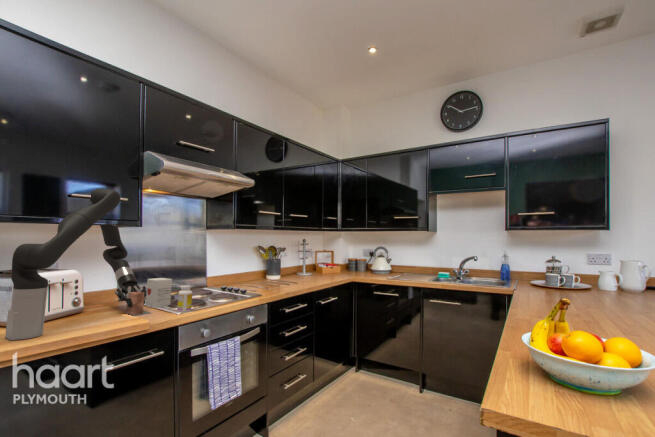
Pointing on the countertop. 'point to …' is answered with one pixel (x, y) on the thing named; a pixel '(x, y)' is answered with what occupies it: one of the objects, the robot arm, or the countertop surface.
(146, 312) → the slate card
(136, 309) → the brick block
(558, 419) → the countertop surface
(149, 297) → the supplement box
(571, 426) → the countertop surface
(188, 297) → the supplement bottle
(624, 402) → the countertop surface
